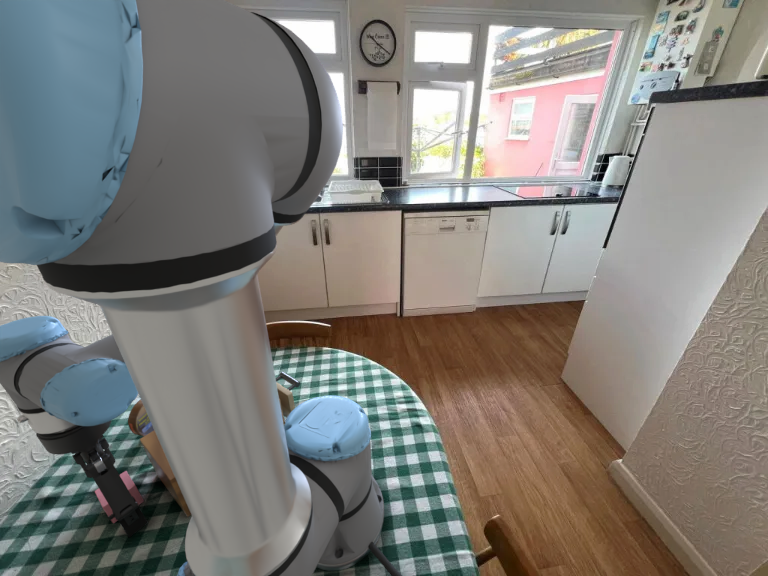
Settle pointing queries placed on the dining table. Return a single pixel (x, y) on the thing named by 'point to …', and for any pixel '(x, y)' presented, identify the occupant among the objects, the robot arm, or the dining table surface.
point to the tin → (139, 420)
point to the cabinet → (163, 468)
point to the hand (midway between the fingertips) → (123, 502)
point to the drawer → (286, 394)
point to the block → (131, 489)
